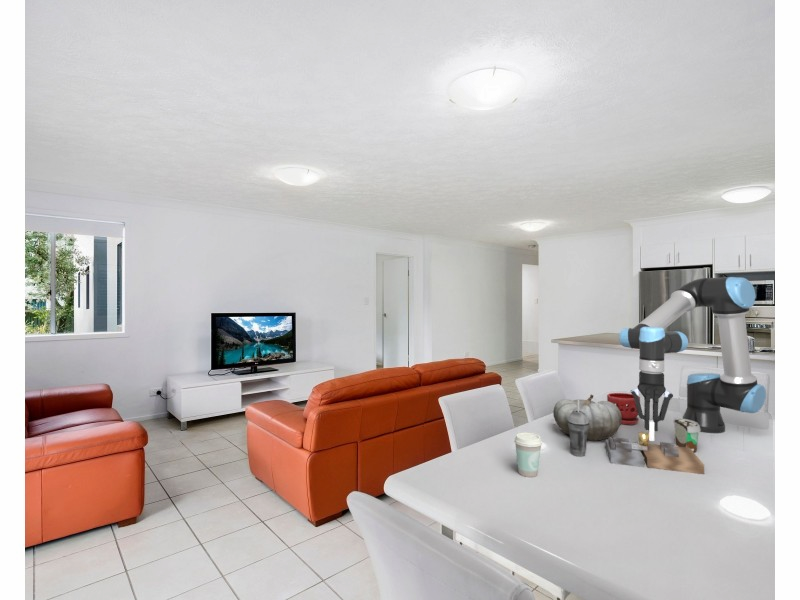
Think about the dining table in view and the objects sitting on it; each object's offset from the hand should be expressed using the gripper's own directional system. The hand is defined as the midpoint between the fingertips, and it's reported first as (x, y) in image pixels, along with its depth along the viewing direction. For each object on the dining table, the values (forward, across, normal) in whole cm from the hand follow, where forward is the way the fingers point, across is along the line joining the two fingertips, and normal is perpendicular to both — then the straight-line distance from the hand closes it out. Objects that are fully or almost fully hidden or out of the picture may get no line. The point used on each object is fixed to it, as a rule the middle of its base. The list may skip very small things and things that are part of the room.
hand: (650, 439), depth 151 cm
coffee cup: (+7, -40, -26) cm, 48 cm away
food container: (+7, +16, +16) cm, 23 cm away
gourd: (+7, -19, +20) cm, 29 cm away
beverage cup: (+7, -24, -3) cm, 25 cm away
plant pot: (+7, -2, +46) cm, 47 cm away
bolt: (+4, -5, 0) cm, 6 cm away
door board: (+7, +1, 0) cm, 7 cm away
